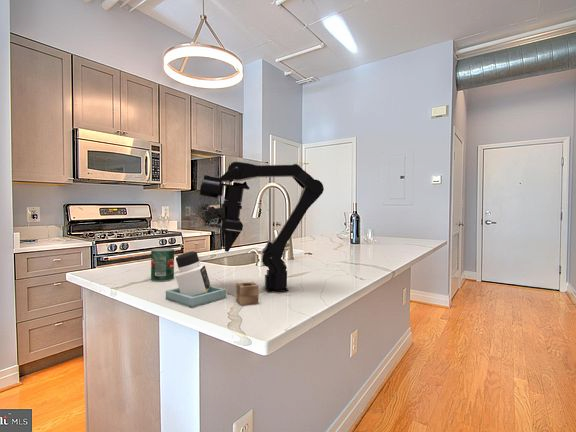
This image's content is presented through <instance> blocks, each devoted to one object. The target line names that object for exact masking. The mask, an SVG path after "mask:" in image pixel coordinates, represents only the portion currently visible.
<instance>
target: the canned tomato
mask: <svg viewBox="0 0 576 432" xmlns="http://www.w3.org/2000/svg"><path fill="white" fill-rule="evenodd" d="M150 253H151V254H150V255H151V256H150V281H152V282H154V283H155V282H157V283H161V282H170V281H174V279H175V248H173V247H172V248H171V247H160V248H157V247H156V248H152V249H151V250H150Z"/></svg>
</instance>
